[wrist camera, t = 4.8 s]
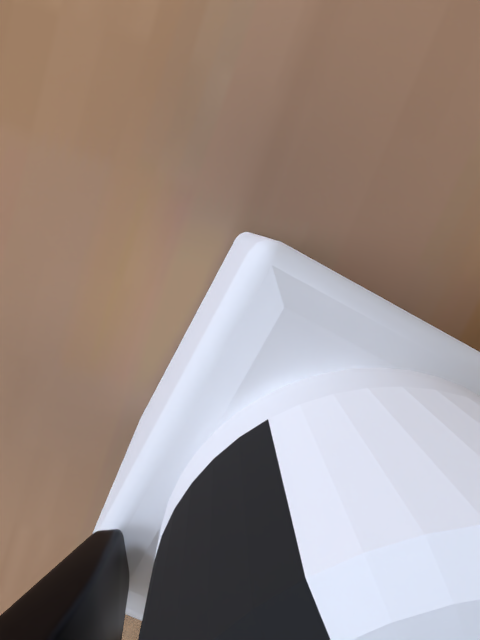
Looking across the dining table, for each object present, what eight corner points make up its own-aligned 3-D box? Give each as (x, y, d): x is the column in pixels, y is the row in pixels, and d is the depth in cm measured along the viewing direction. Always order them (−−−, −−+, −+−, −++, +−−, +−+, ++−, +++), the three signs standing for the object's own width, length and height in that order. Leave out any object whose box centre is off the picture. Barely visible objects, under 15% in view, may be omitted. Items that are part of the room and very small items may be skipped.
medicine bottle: (323, 509, 16) (626, 1361, 4) (138, 421, 15) (-195, 1207, 3) (435, 334, 14) (1349, 807, 3) (241, 227, 14) (367, 247, 2)
